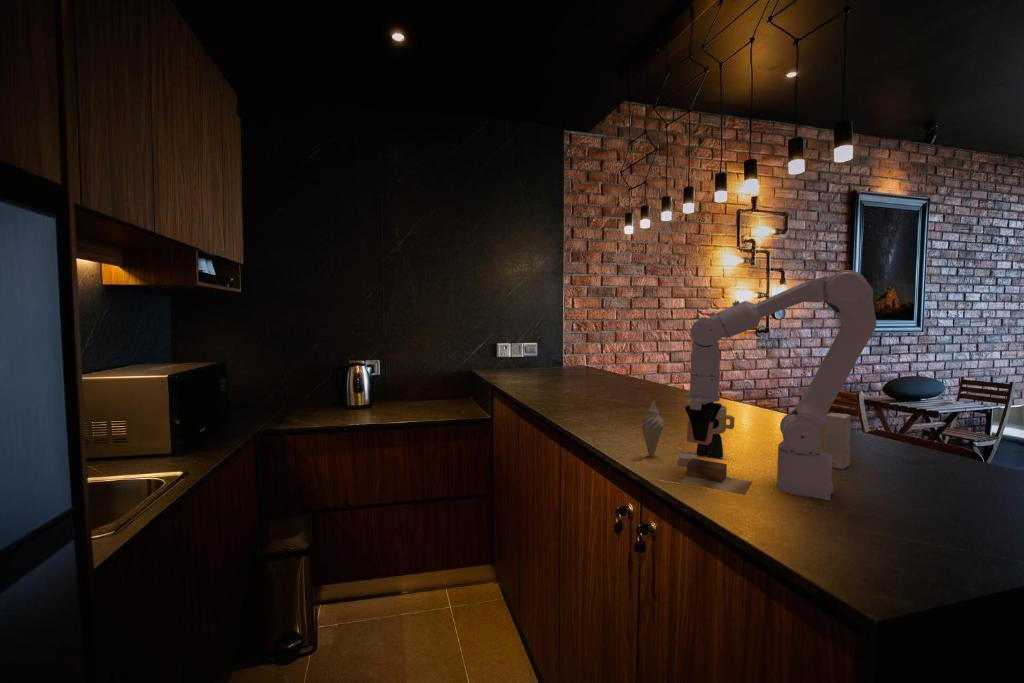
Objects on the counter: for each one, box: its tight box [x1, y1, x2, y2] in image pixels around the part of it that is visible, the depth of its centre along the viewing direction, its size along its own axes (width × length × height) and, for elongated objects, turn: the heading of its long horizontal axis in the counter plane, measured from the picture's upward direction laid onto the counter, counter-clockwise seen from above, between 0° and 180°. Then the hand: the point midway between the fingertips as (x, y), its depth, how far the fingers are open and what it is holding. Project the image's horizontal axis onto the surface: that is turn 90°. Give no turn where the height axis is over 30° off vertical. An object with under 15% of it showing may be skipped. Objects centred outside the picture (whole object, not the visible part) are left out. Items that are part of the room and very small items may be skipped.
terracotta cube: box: [686, 421, 713, 445], centre depth 103 cm, size 4×4×4 cm
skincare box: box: [823, 412, 851, 470], centre depth 115 cm, size 6×4×12 cm
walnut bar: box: [686, 458, 728, 483], centre depth 102 cm, size 7×4×3 cm, turn 55°
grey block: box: [678, 453, 699, 468], centre depth 111 cm, size 4×4×3 cm
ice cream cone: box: [641, 399, 664, 458], centre depth 117 cm, size 5×5×15 cm
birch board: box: [680, 475, 753, 496], centre depth 99 cm, size 12×9×1 cm
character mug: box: [687, 405, 735, 460], centre depth 120 cm, size 11×7×13 cm, turn 52°
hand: (702, 438), depth 103 cm, fingers closed on terracotta cube, 4 cm apart
